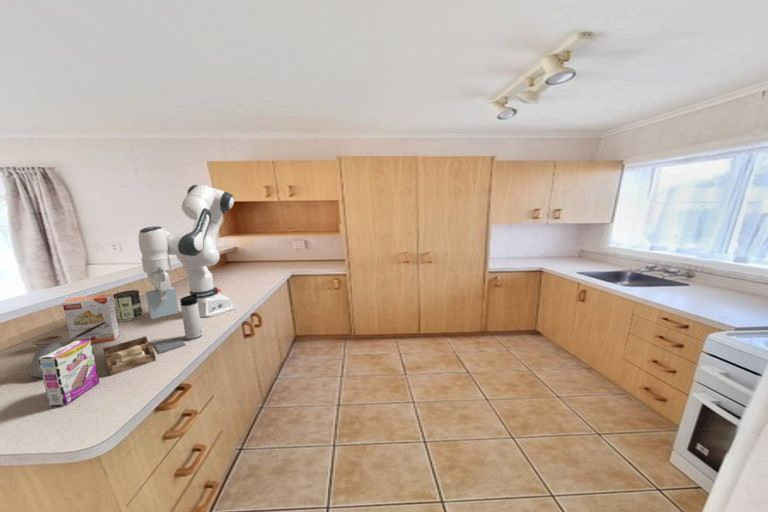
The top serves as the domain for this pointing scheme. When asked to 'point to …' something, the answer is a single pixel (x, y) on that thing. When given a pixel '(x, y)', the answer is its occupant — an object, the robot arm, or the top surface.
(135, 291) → the coffee can
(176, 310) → the board
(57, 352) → the candy bar box
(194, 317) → the travel mug
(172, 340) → the mat
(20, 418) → the top surface
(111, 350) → the rack
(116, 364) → the block
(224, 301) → the robot arm
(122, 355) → the upper offcut
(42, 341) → the coffee pot
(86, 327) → the cracker box
